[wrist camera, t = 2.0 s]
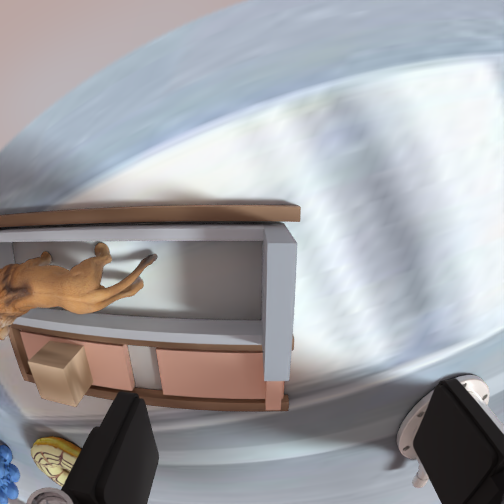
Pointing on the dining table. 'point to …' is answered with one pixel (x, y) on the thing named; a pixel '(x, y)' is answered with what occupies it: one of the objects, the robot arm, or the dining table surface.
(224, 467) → the dining table surface
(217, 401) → the lane rails
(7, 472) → the grapes
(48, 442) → the decorated donut
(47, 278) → the lion figurine
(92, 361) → the broken strip
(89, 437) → the robot arm
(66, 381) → the cube
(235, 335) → the grey long open box
